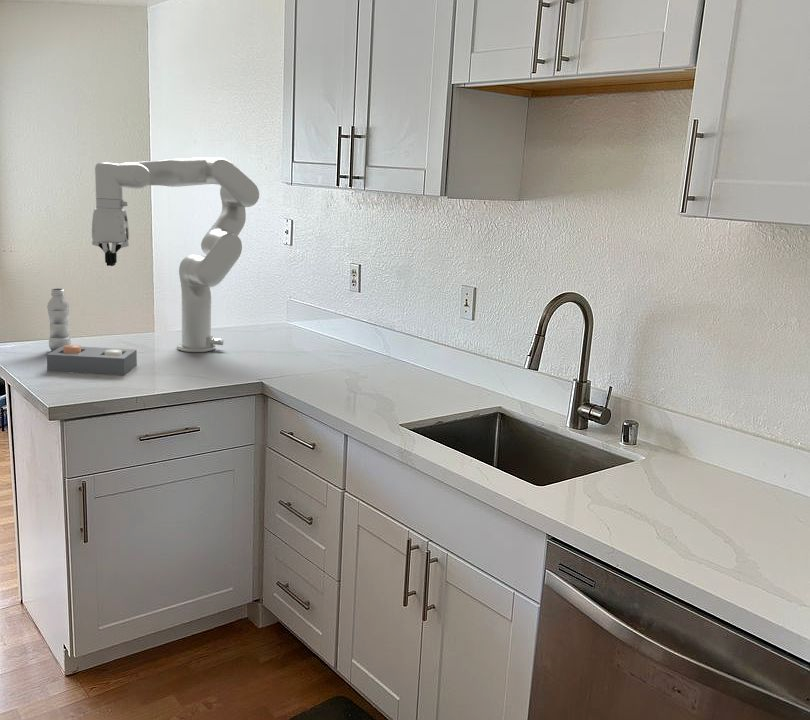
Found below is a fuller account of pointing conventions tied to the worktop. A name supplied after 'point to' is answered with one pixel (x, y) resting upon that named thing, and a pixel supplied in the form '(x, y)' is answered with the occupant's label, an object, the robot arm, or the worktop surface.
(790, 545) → the worktop surface
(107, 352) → the ivory button
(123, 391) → the worktop surface
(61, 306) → the plastic bottle
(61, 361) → the grey two-hole block
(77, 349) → the terracotta button
